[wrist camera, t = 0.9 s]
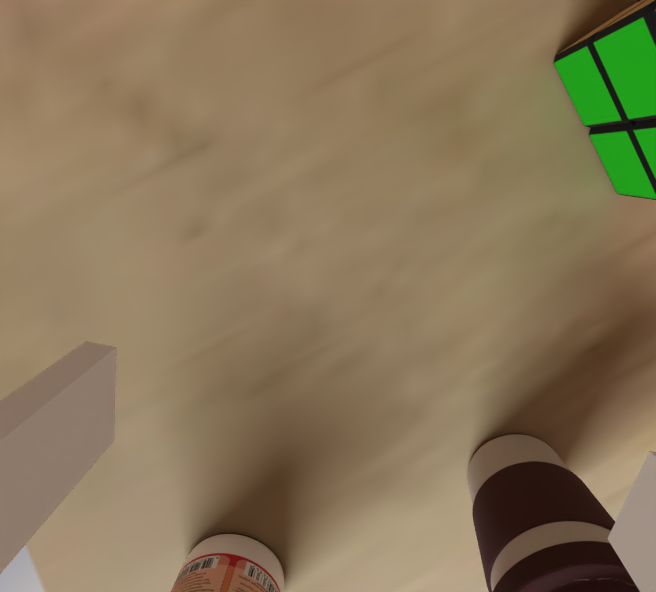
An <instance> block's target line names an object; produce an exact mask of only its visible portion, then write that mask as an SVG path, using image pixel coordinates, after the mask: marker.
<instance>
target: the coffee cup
mask: <svg viewBox="0 0 656 592" xmlns="http://www.w3.org/2000/svg"><path fill="white" fill-rule="evenodd" d="M467 478H468V485H469V489H470V494H471V498H472V503H473V521H474V526H475V531H476V535H477V540H478V545H479V550H480V554H481V559H482V564H483V568H484V573H485V578H486V583H487V587H488V590H489V592H640V591H639V589H638V588H637V586H636V584H635V583H634V581H633V579H632V578H631V576H630V575H629V573H628V571H627V570H626V568H625V566H624V565H623V563H622V562H621V560H620V558H619V557H618V555H617V553H616V552H615V550H614V549H613V547H612V545H611V544H610V542H609V540H608V539H607V538H608V536H609V534H610V532H611V530H612V528H613V526H614V524H615V521H614V520H613V519H612V517H611V516H610V515H609V514H608V512H607V511H606V510H605V509H604V507H603V506H602V505H601V504H600V503H599V501H598V500H597V499H596V498H595V496H594V495H593V494H592V493H591V491H590V490H589V489H588V488H587V486H586V485H585V484H584V483H583V482H582V480H581V479H580V478H578V477H577V476H576V475H575V474H574V473H573V472H571V471H570V470H569V469H568V467H567V466H566V465H565V464H564V462H563V461H562V460H561V459H560V457H559V456H558V455H557V454H556V452H555V451H554V450H553V449H552V448H551V447H550V446H549V445H547V444H546V443H545V442H543V441H541V440H539V439H537V438H534V437H532V436H528V435H520V434H511V435H505V436H500V437H498V438H495V439H493V440H490V441H489V442H487V443H486V444H484V445H483V446H482V447H480V448H479V449H478V451H477V452H476V453H475V454H474V456H473V457H472V459H471V461H470V464H469V467H468V476H467Z"/></svg>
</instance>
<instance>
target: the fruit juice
mask: <svg viewBox="0 0 656 592" xmlns="http://www.w3.org/2000/svg"><path fill="white" fill-rule="evenodd" d="M171 592H284V574H283V570H282V567H281V564H280V562H279V560H278V559H277V557H276V556H275V555H274V553H273V552H272V551H271V550H270V549H269V548H267V547H266V546H265V545H263V544H262V543H260V542H258V541H256V540H254V539H252V538H249V537H246V536H242V535H237V534H221V535H216V536H212V537H209V538H207V539H205V540H203V541H202V542H200V543H199V544H198V545H197V546H196V547H195V548H194V549H193V550H192V551H191V552H190V554H189V555H188V557H187V558H186V560H185V562H184V564H183V566H182V568H181V570H180V572H179V575H178V577H177V579H176V581H175V584H174V586H173V588H172V590H171Z"/></svg>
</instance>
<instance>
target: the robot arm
mask: <svg viewBox="0 0 656 592" xmlns="http://www.w3.org/2000/svg"><path fill="white" fill-rule="evenodd" d="M115 380H116V347H112V346H107V345H102V344H97V343H92V342H87V341H86V342H84V343H83V344H81V345H80V346H78V347H77V348H76V349H74V350H73V351H71V352H70V353H68V354H67V355H66V356H64V357H63V358H61V359H60V360H58V361H57V362H56V363H54V364H53V365H51V366H50V367H48V368H47V369H46V370H44V371H43V372H41V373H40V374H38V375H37V376H36V377H34V378H33V379H31V380H30V381H28V382H27V383H26V384H24V385H23V386H21V387H20V388H18V389H17V390H16V391H14V392H13V393H11V394H10V395H8V396H7V397H6V398H4V399H3V400H1V401H0V574H1V572H2V571H3V570H4V569H5V568H6V567H7V565H8V564H9V563H10V562H11V560H13V558H14V557H15V556H16V555H17V554H18V552H19V551H20V550H21V549H22V548H23V547H24V545H25V544H26V543H27V542H28V541H29V540H30V538H31V537H32V536H33V535H34V534H35V533H36V531H37V530H38V529H39V528H40V527H41V526H42V524H43V523H44V522H45V521H46V520H47V519H48V517H49V516H50V515H51V514H52V513H53V512H54V510H55V509H56V508H57V507H58V506H59V504H60V503H61V502H62V501H63V500H64V499H65V497H66V496H67V495H68V494H69V493H70V492H71V490H72V489H73V488H74V487H75V486H76V485H77V483H78V482H79V481H80V480H81V479H82V478H83V476H84V475H85V474H86V473H87V472H88V470H89V469H90V468H91V467H92V466H93V465H94V463H95V462H96V461H97V460H98V459H99V458H100V456H101V455H102V454H103V453H104V452H105V451H106V449H107V448H108V447H109V446H110V445H111V444H112V442H113V441H114V422H115ZM607 539H608V540H609V542H610V544H611V545H612V547H613V549H614V550H615V552H616V553H617V555H618V557H619V558H620V560H621V562H622V563H623V565H624V566H625V568H626V570H627V571H628V573H629V575H630V576H631V578H632V579H633V581H634V583H635V584H636V586H637V588H638V589H639V591H640V592H656V452H652V451H650V452H649V454H648V456H647V458H646V460H645V462H644V464H643V466H642V468H641V470H640V472H639V475H638V477H637V479H636V481H635V483H634V485H633V487H632V489H631V491H630V493H629V495H628V497H627V499H626V501H625V503H624V505H623V507H622V509H621V512H620V514H619V516H618V518H617V520H616V522H615V524H614V526H613V528H612V530H611V532H610V534H609V536H608V538H607Z"/></svg>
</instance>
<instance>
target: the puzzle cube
mask: <svg viewBox="0 0 656 592" xmlns="http://www.w3.org/2000/svg"><path fill="white" fill-rule="evenodd" d="M554 65H555V67H556V69H557V71H558V73H559V75H560V77H561V79H562V82H563V84H564V86H565V88H566V90H567V92H568V94H569V96H570V98H571V100H572V102H573V104H574V106H575V108H576V110H577V112H578V115H579V117H580V119H581V121H582V123H583V125H584V126H586V127H590V128H591V130H590V132H589V137H590V139H591V141H592V143H593V145H594V147H595V149H596V151H597V153H598V155H599V157H600V159H601V161H602V164H603V166H604V168H605V170H606V172H607V174H608V176H609V178H610V180H611V182H612V184H613V186H614V188H615V190H616V192H617V194H620V195H625V196H632V197H639V198H646V199H653V200H656V0H639V1H637V3H635V4H634V5H632V6H630V7H628V8H627V9H625V10H623V11H622V12H620V13H619V14H617V15H616V16H614V17H613V18H611V19H610V20H608V21H607V22H605V23H604V24H602V25H601V26H599V27H598V28H596V29H595V30H593V31H591V32H590V33H588V34H587V35H585V36H584V37H582V38H581V39H579V40H578V41H576V42H575V43H573V44H572V45H570V46H569V47H567V48H566V49H564V50H563V51H561V52H560V53H558V54H557V55H556V57H555V60H554Z"/></svg>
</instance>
